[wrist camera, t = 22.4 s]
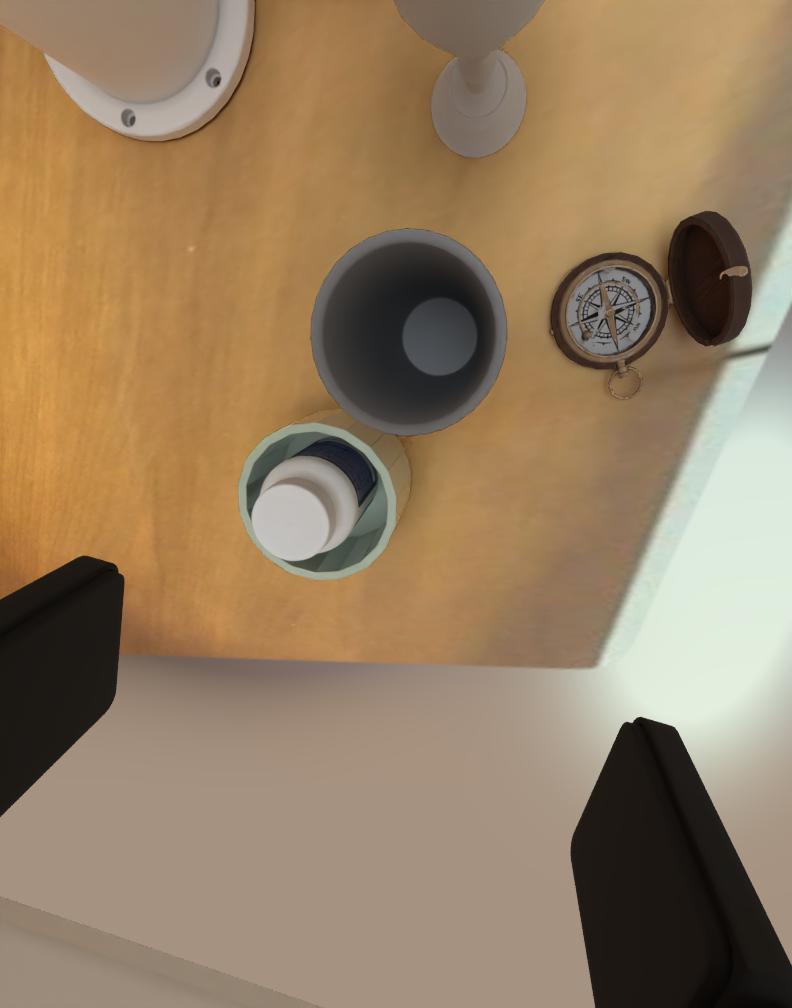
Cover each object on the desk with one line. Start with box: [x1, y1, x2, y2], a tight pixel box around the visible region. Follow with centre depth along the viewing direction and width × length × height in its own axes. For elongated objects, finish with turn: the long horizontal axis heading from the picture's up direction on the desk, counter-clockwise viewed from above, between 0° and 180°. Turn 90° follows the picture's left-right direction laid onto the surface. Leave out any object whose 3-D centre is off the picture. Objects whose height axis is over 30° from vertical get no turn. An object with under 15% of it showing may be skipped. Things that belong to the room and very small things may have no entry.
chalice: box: [393, 0, 545, 158], centre depth 21 cm, size 7×7×18 cm
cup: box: [311, 228, 507, 436], centre depth 26 cm, size 7×7×15 cm
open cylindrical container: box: [238, 408, 411, 580], centre depth 33 cm, size 9×9×6 cm
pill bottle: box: [252, 436, 378, 561], centre depth 31 cm, size 5×5×10 cm
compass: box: [550, 211, 752, 400], centre depth 28 cm, size 8×8×7 cm
